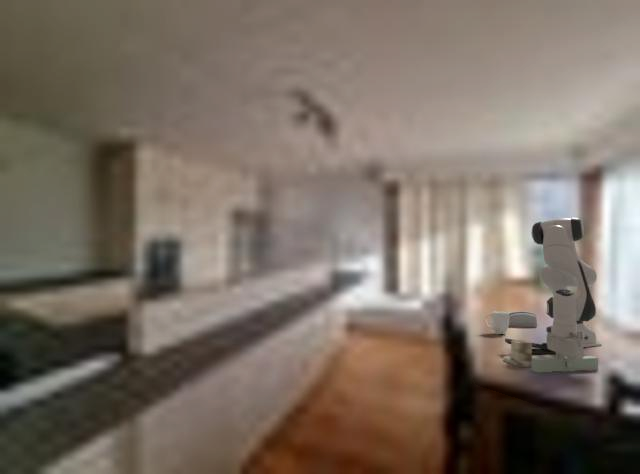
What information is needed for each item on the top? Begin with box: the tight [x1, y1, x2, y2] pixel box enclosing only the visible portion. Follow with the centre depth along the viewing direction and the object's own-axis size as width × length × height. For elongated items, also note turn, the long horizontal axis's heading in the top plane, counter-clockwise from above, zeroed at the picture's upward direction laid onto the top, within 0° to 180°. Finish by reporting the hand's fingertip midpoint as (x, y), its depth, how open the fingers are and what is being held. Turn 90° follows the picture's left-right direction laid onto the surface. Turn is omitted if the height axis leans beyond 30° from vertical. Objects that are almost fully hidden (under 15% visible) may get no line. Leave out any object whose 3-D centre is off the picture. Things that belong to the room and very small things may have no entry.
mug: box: [485, 310, 510, 335], centre depth 306 cm, size 12×9×12 cm
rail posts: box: [503, 330, 582, 368], centre depth 241 cm, size 32×12×13 cm, turn 99°
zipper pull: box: [504, 337, 556, 356], centre depth 255 cm, size 9×7×25 cm
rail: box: [531, 355, 599, 373], centre depth 227 cm, size 26×4×5 cm, turn 98°
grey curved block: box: [508, 310, 538, 328], centre depth 330 cm, size 17×5×10 cm, turn 78°
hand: (564, 365), depth 227 cm, fingers closed on rail, 4 cm apart
